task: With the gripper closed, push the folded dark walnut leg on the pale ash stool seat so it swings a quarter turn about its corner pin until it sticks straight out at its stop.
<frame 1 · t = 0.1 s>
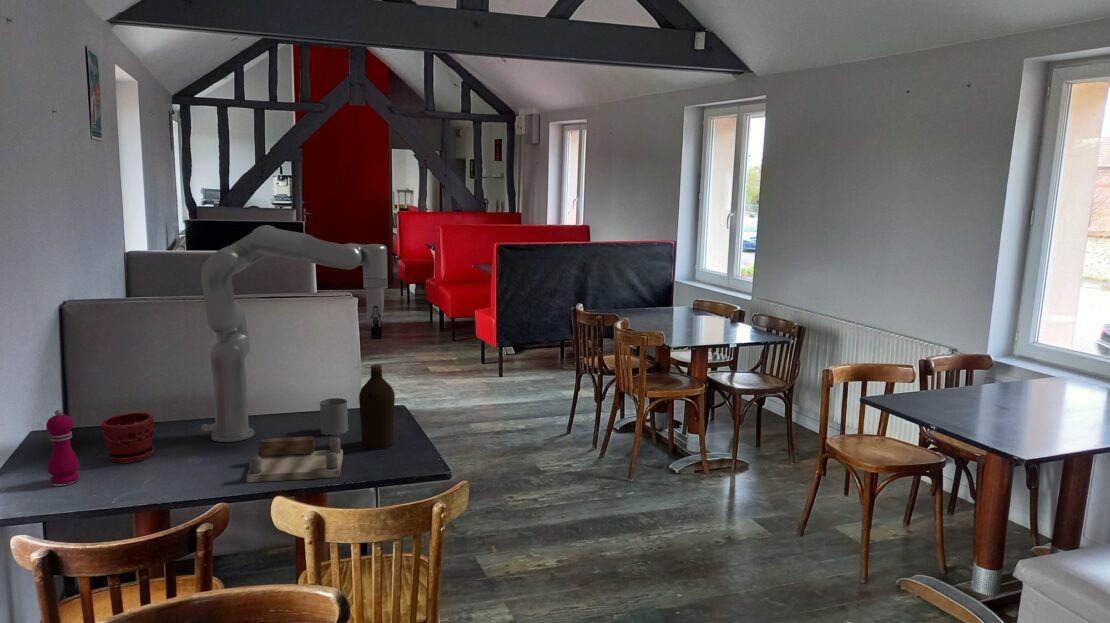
hand: (376, 336, 251), 31 cm above the table, tool pointing down, fingers open, 9 cm apart
cup: (334, 432, 253), on the table
folding leg: (285, 446, 225), point 5 cm above the table, hinge at 0.0°
plant pot: (130, 458, 227), on the table
olive oil: (378, 444, 242), on the table
pepper mill: (65, 482, 208), on the table
stool seat: (297, 468, 220), on the table
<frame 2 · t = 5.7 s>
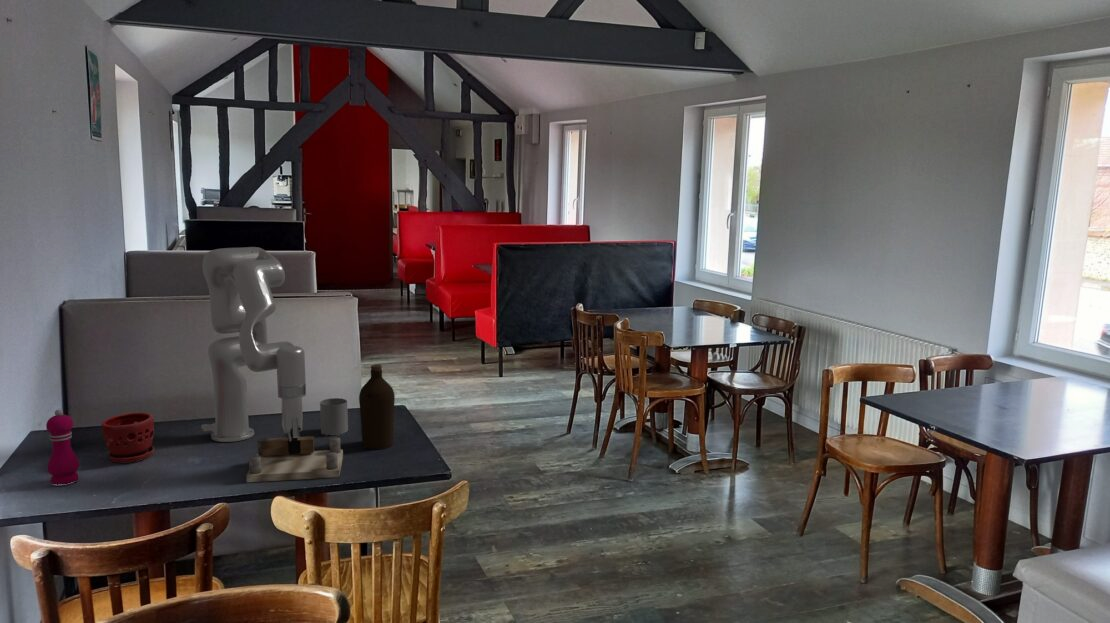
hand: (294, 453, 222), 4 cm above the table, tool pointing down, fingers closed
folding leg: (286, 445, 225), point 5 cm above the table, hinge at 0.6°, touching gripper
everything else where it was.
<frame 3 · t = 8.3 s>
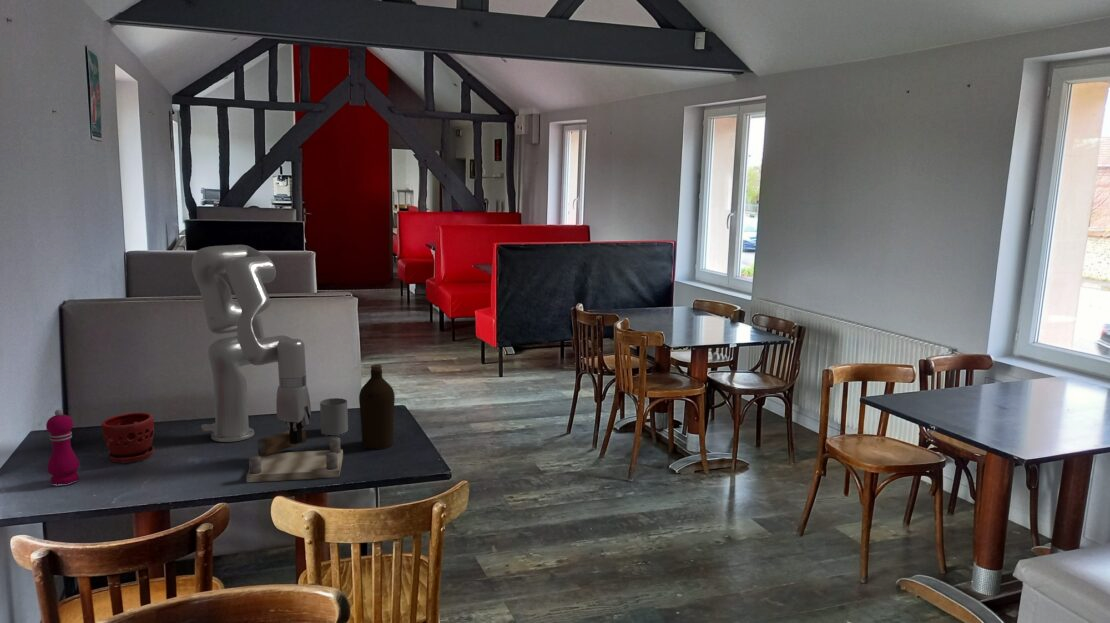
hand: (296, 442, 229), 4 cm above the table, tool pointing down, fingers closed
folding leg: (281, 441, 229), point 5 cm above the table, hinge at 44.9°, touching gripper
everything else where it was.
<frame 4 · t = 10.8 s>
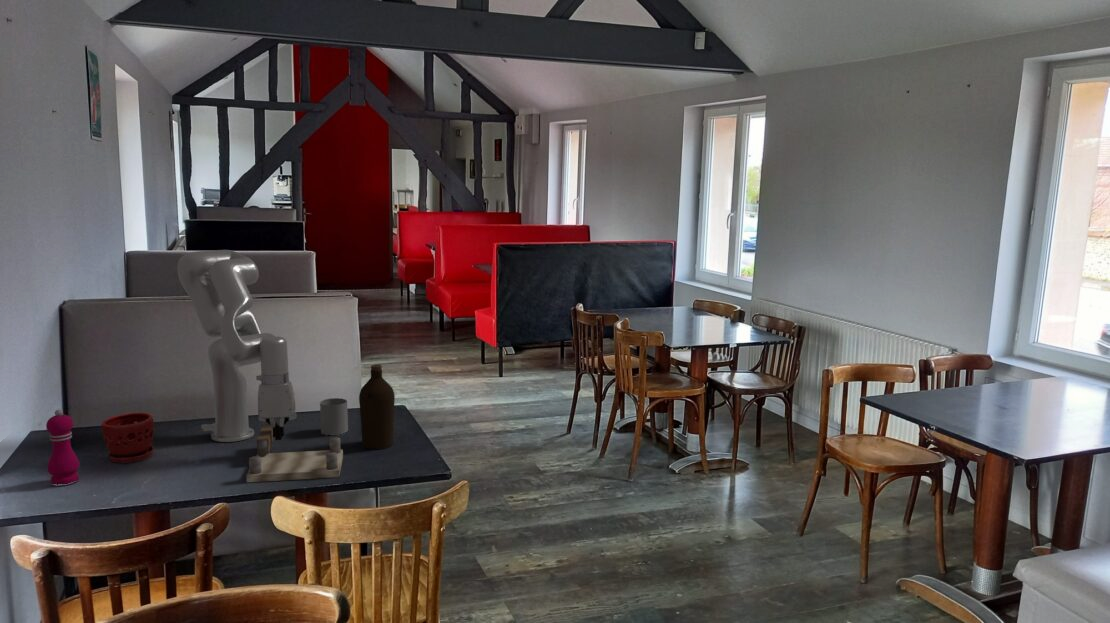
hand: (278, 438, 233), 4 cm above the table, tool pointing down, fingers closed
folding leg: (265, 440, 230), point 5 cm above the table, hinge at 92.2°, touching gripper
everything else where it was.
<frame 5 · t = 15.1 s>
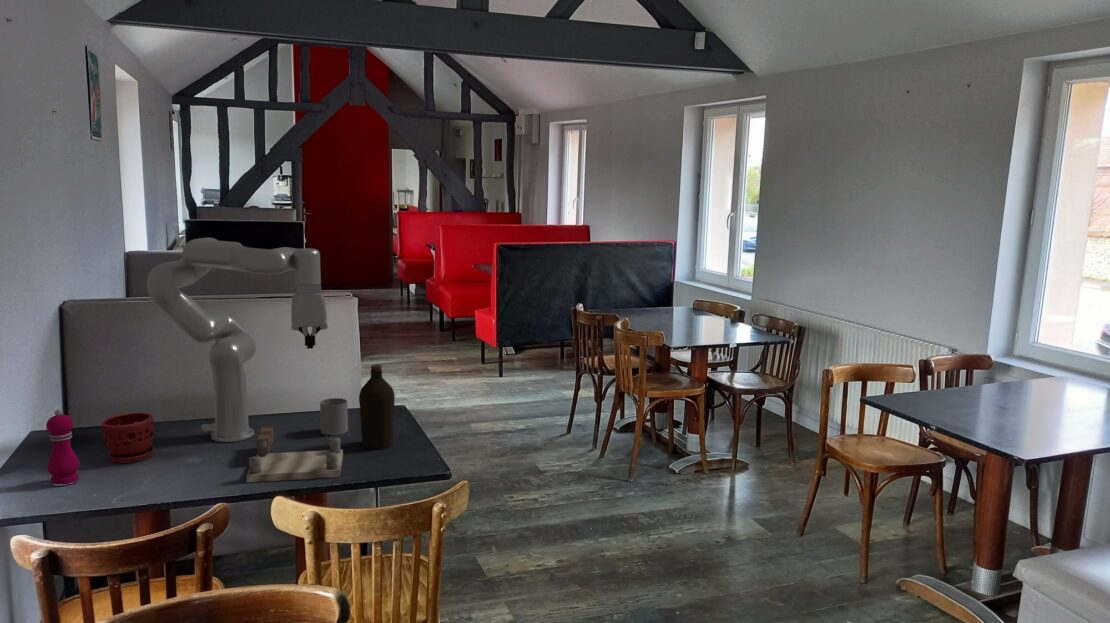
hand: (310, 347, 242), 29 cm above the table, tool pointing down, fingers closed
folding leg: (265, 440, 230), point 5 cm above the table, hinge at 92.0°
everything else where it was.
at the end: folding leg at +92° (first picture: +0°); olive oil moved 0.2 cm from its start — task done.
